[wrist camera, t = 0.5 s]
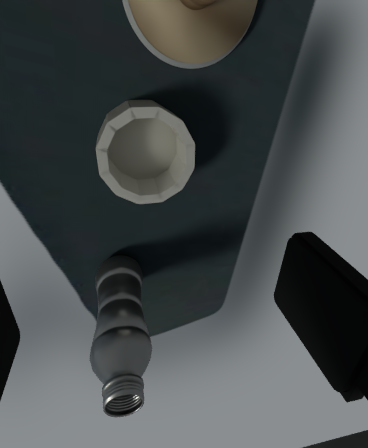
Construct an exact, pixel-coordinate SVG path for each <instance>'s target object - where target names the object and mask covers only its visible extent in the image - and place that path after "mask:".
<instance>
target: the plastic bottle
mask: <svg viewBox="0 0 368 448" xmlns="http://www.w3.org/2000/svg"><path fill="white" fill-rule="evenodd" d="M142 279H143V275H142V271H141V268H140V266H139V264H138V262H137V261H136V260H134V259H133V258H131V257H128V256H124V255H117V256H113V257H111V258H109V259H107V260H105V261H104V262H103V263H102V264H101V265H100V267H99V268H98V271H97V274H96V278H95V284H96V290H97V294H98V317H97V325H96V330H95V334H94V338H93V342H92V347H91V352H90V362H91V366H92V370H93V372H94V373H95V374H96V376H97V377H98V378H99V380H100V381H101V382H103V384H104V385H103V388H102V396H103V409H104V412H105V413H106V414H107V415H108V416H111V417H123V416H127V415H130V414H133V413H135V412H136V411H138V410H139V409H140V408H141V407H142V406H143V404H144V393H143V389H144V383H143V379H142V378H141V376H142V375H143V373H144V372H145V370H146V368H147V366H148V363H149V361H150V358H151V352H152V345H151V340H150V337H149V333H148V330H147V327H146V324H145V321H144V316H143V310H142V305H141V288H142Z"/></svg>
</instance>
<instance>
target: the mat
mask: <svg viewBox="0 0 368 448" xmlns="http://www.w3.org/2000/svg"><path fill="white" fill-rule="evenodd" d="M122 1H123V5H124V9H125V12H126V14H127V17H128V20H129V22H130V24H131V26H132V28H133V30H134V31H135V33H136V35H137V36H138V38H139V39H140V40H141V42H142V43H143V44H144V46H145V47H146V48H147V49H148V50H149V51H150V52H151V53H153V54H154V55H155V56H156V57H158V58H159V59H161V60H163V61H164V62H166V63H168V64H171V65H173V66H176V67H181V68H189V69H193V68H202V67H206V66H209V65H212V64H214V63H216V62H218V61H220V60H221V59H223V58H224V57H226V56H227V55H228V54H229V53H230V52H231V51H232V50H233V49H234V48H235V47H236V46H237V45H238V44H239V42H240V41H241V40H242V38H243V36H244V35H245V33H246V32H247V30H248V28H247V29H246V31H245V33H244V34H243V36H242V37H241V38H240V40H239V41H238V42H237V43H236V44H235V45H234V46H233V47H232V48H231V49H230V50H229V51H228V52H226V53H225V54H224V55H222V56H220V57H218V58H216V59H214V60H211V61H208V62H204V63H183V62H179V61H175V60H173V59H170V58H168V57H166V56H165V55H163V54H161V53H160V52H159V51H158V50H156V49H155V48H154V47H153V46H152V45H151V44H150V43H149V42H148V41H147V39H146V38H145V37H144V36H143V34H142V33H141V31H140V29H139V28H138V26H137V24H136V22H135V20H134V18H133V15H132V12H131V9H130V7H129V3H128V0H122ZM254 13H255V12H254ZM253 15H254V14H253ZM252 18H253V17H252ZM251 21H252V20H251ZM250 23H251V22H250ZM249 25H250V24H249ZM248 27H249V26H248Z"/></svg>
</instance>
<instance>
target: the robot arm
mask: <svg viewBox="0 0 368 448" xmlns="http://www.w3.org/2000/svg"><path fill="white" fill-rule="evenodd" d="M274 300H275V302H276V304H277V306H278V307H279V309H280V310H281V312H282V313H283V315H284V316H285V318H286V319H287V321H288V322H289V323H290V325H291V327H292V328H293V330H294V331H295V333H296V334H297V336H298V337H299V338H300V340H301V341H302V343H303V344H304V346H305V347H306V349H307V350H308V352H309V353H310V355H311V356H312V358H313V359H314V361H315V362H316V364H317V365H318V367H319V368H320V370H321V371H322V373H323V374H324V375H325V377H326V378H327V380H328V382H329V383H330V384H331V386H332V387H333V388H334V390H336V391H337V392H340V393H341V395H342V396H343V398H344V399H345V401H346V402H350V401H355V400H358V399H362V398H363V396H365V397H366V399H367V400H368V280H367V279H366V278H365V277H364V276H363V275H362V274H360V273H359V272H358V271H357V270H356V269H355V268H354V267H352V266H351V265H350V264H349V263H348V262H347V261H345V260H344V259H343V258H342V257H341V256H340V255H338V254H337V253H336V252H335V251H334V250H333V249H331V248H330V247H329V246H328V245H327V244H326V243H324V242H323V241H322V240H321V239H320V238H319V237H317V236H316V235H315V234H314V233H312V232H302V233H295V234H294V235H293V236H292V238H290V239H289V240H288V242H287V247H286V250H285V254H284V258H283V261H282V265H281V269H280V273H279V277H278V281H277V285H276V288H275V292H274ZM19 341H20V331H19V328H18V326H17V323H16V320H15V317H14V315H13V312H12V310H11V307H10V304H9V302H8V299H7V296H6V294H5V291H4V289H3V286H2V284H1V281H0V400H1V397H2V394H3V391H4V388H5V385H6V382H7V379H8V375H9V373H10V369H11V367H12V363H13V360H14V357H15V354H16V351H17V348H18V345H19ZM303 448H368V430H366V431H363V432H359V433H355V434H351V435H348V436H344V437H340V438H336V439H333V440H329V441H325V442H321V443H318V444H314V445H310V446H307V447H303Z"/></svg>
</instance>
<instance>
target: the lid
mask: <svg viewBox="0 0 368 448" xmlns="http://www.w3.org/2000/svg"><path fill="white" fill-rule="evenodd" d="M257 1H258V0H128V3H129V7H130V9H131V12H132V15H133V18H134V20H135V22H136V24H137V26H138V28H139V29H140V31H141V33H142V34H143V36H144V37H145V38H146V39H147V41H148V42H149V43H150V44H151V45H152V46H153V47H154V48H155V49H156V50H158V51H159V52H160V53H161V54H163V55H165V56H166V57H168V58H170V59H173V60H175V61H179V62H183V63H204V62H208V61H211V60H214V59H216V58H218V57H220V56H222V55H224V54H225V53H226V52H228V51H229V50H230V49H231V48H232V47H233V46H234V45H235V44H236V43H237V42H238V41H239V40H240V38H241V37H242V36H243V34H244V33H245V31H246V29H247V28H248V26H249V24H250V22H251V20H252V17H253V14H254V12H255V9H256V5H257Z"/></svg>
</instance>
